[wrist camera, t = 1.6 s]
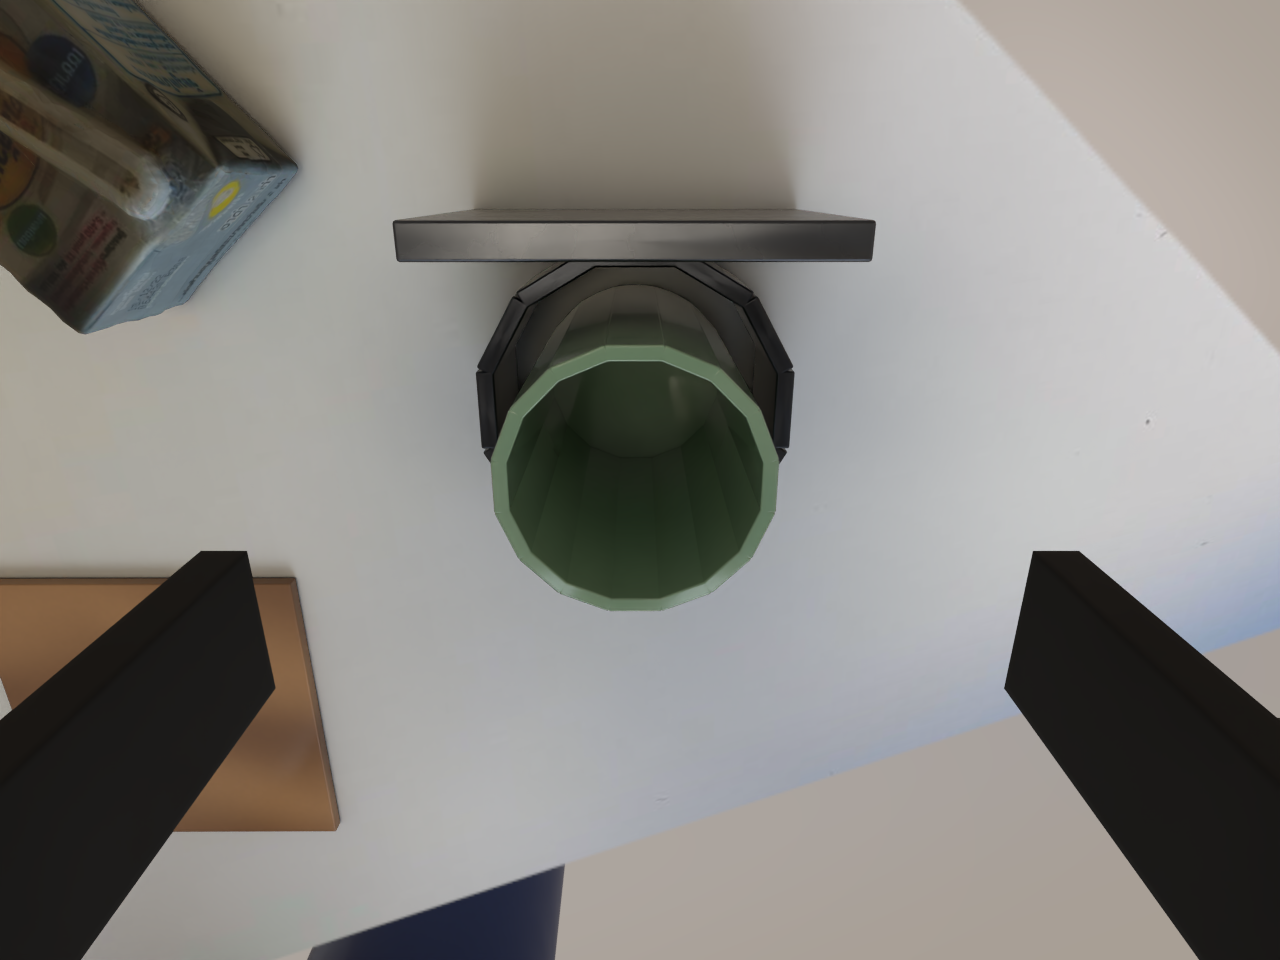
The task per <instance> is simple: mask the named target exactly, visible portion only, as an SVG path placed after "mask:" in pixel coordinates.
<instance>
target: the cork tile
mask: <svg viewBox="0 0 1280 960" xmlns="http://www.w3.org/2000/svg"><path fill="white" fill-rule="evenodd" d="M167 579H168V578H109V579H0V678H1V680H2V683H3V686H4V689H5V691H6V694H7V697H8V700H9V703H10V705H11V708H12V710H13V709H14V708H15V707H17V706H18V705H19V704H20V703H21V702H22V701H24V700H25V699H26V698H27V697H28V696H30V695H31V694H32V693H33V692H34V691H36V690H37V689H38V688H39V687H40V686H41V685H43V684H44V683H45V682H46V681H47V680H49V679H50V678H51V677H52V676H53V675H55V674H56V673H57V672H58V671H59V670H60V669H62V668H63V667H64V666H65V665H66V664H68V663H69V662H70V661H71V660H72V659H74V658H75V657H76V656H77V655H78V654H79V653H81V652H82V651H83V650H84V649H85V648H87V647H88V646H89V645H90V644H91V643H92V642H94V641H95V640H96V639H97V638H98V637H100V636H101V635H102V634H103V633H104V632H106V631H107V630H108V629H109V628H110V627H111V626H113V625H114V624H115V623H116V622H117V621H119V620H120V619H121V618H122V617H123V616H125V615H126V614H127V613H128V612H129V611H130V610H132V609H133V608H134V607H135V606H136V605H138V604H139V603H140V602H141V601H142V600H144V599H145V598H146V597H147V596H148V595H149V594H151V593H152V592H153V591H154V590H155V589H157V588H158V587H159V586H160V585H161V584H162V583H164V582H165V581H166V580H167ZM253 583H254V587H255V592H256V597H257V602H258V606H259V611H260V616H261V620H262V625H263V630H264V635H265V639H266V644H267V649H268V654H269V658H270V663H271V668H272V673H273V677H274V682H275V687H276V689H275V690H274V691H273V693H272V694H271V696H270V697H269V698H268V700H267V701H266V703H265V704H264V705H263V707H262V708H261V710H260V711H259V712H258V714H257V715H256V716H255V718H254V719H253V721H252V722H251V723H250V725H249V726H248V728H247V729H246V730H245V732H244V733H243V735H242V736H241V737H240V739H239V740H238V742H237V743H236V744H235V746H234V747H233V749H232V750H231V751H230V753H229V754H228V755H227V757H226V758H225V760H224V761H223V762H222V764H221V765H220V767H219V768H218V769H217V771H216V772H215V774H214V775H213V776H212V778H211V779H210V781H209V782H208V783H207V785H206V786H205V787H204V789H203V790H202V792H201V793H200V794H199V796H198V797H197V799H196V800H195V801H194V803H193V804H192V806H191V807H190V808H189V810H188V811H187V813H186V814H185V815H184V817H183V818H182V820H181V821H180V822H179V824H178V825H177V826H176V828H175V829H174V831H173V832H211V831H336V830H337V828H338V826H339V824H340V819H339V814H338V808H337V803H336V797H335V792H334V787H333V781H332V776H331V770H330V765H329V759H328V754H327V748H326V743H325V738H324V732H323V727H322V721H321V716H320V710H319V705H318V699H317V694H316V689H315V683H314V678H313V672H312V667H311V661H310V656H309V650H308V645H307V639H306V634H305V629H304V623H303V618H302V612H301V607H300V601H299V596H298V590H297V585H296V580H295V578H253Z"/></svg>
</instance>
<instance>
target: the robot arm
mask: <svg viewBox="0 0 1280 960" xmlns="http://www.w3.org/2000/svg"><path fill="white" fill-rule="evenodd" d="M275 689H276V687H275V682H274V677H273V673H272V668H271V663H270V658H269V654H268V649H267V644H266V639H265V635H264V630H263V625H262V620H261V616H260V611H259V606H258V602H257V597H256V592H255V587H254V583H253V578H252V573H251V568H250V564H249V559H248V554H247V551H200V552H199V553H198V554H197V555H196V556H195V557H193V558H192V559H191V560H190V561H189V562H187V563H186V564H185V565H184V566H183V567H181V568H180V569H179V570H178V571H177V572H176V573H174V574H173V575H172V576H171V577H170V578H168V579H167V580H166V581H165V582H164V583H162V584H161V585H160V586H159V587H158V588H157V589H155V590H154V591H153V592H152V593H151V594H149V595H148V596H147V597H146V598H145V599H144V600H142V601H141V602H140V603H139V604H138V605H136V606H135V607H134V608H133V609H132V610H130V611H129V612H128V613H127V614H126V615H125V616H123V617H122V618H121V619H120V620H119V621H117V622H116V623H115V624H114V625H113V626H111V627H110V628H109V629H108V630H107V631H106V632H104V633H103V634H102V635H101V636H100V637H98V638H97V639H96V640H95V641H94V642H92V643H91V644H90V645H89V646H88V647H87V648H85V649H84V650H83V651H82V652H81V653H79V654H78V655H77V656H76V657H75V658H74V659H72V660H71V661H70V662H69V663H68V664H66V665H65V666H64V667H63V668H62V669H60V670H59V671H58V672H57V673H56V674H55V675H53V676H52V677H51V678H50V679H49V680H47V681H46V682H45V683H44V684H43V685H41V686H40V687H39V688H38V689H37V690H36V691H34V692H33V693H32V694H31V695H30V696H28V697H27V698H26V699H25V700H24V701H22V702H21V703H20V704H19V705H18V706H17V707H15V708H14V709H13V710H12V711H11V712H9V713H8V714H7V715H6V716H5V717H4V718H2V719H1V720H0V960H81V959H82V957H83V956H84V955H85V953H86V952H87V950H88V949H89V948H90V946H91V945H92V943H93V942H94V941H95V939H96V938H97V937H98V935H99V934H100V932H101V931H102V930H103V928H104V927H105V925H106V924H107V923H108V921H109V920H110V918H111V917H112V916H113V914H114V913H115V911H116V910H117V909H118V907H119V906H120V904H121V903H122V902H123V900H124V899H125V898H126V896H127V895H128V893H129V892H130V891H131V889H132V888H133V886H134V885H135V884H136V882H137V881H138V879H139V878H140V877H141V875H142V874H143V872H144V871H145V870H146V868H147V867H148V865H149V864H150V863H151V861H152V860H153V859H154V857H155V856H156V854H157V853H158V852H159V850H160V849H161V847H162V846H163V845H164V843H165V842H166V840H167V839H168V838H169V836H170V835H171V833H172V832H173V831H174V829H175V828H176V826H177V825H178V824H179V822H180V821H181V820H182V818H183V817H184V815H185V814H186V813H187V811H188V810H189V808H190V807H191V806H192V804H193V803H194V801H195V800H196V799H197V797H198V796H199V794H200V793H201V792H202V790H203V789H204V787H205V786H206V785H207V783H208V782H209V781H210V779H211V778H212V776H213V775H214V774H215V772H216V771H217V769H218V768H219V767H220V765H221V764H222V762H223V761H224V760H225V758H226V757H227V755H228V754H229V753H230V751H231V750H232V749H233V747H234V746H235V744H236V743H237V742H238V740H239V739H240V737H241V736H242V735H243V733H244V732H245V730H246V729H247V728H248V726H249V725H250V723H251V722H252V721H253V719H254V718H255V716H256V715H257V714H258V712H259V711H260V710H261V708H262V707H263V705H264V704H265V703H266V701H267V700H268V698H269V697H270V696H271V694H272V693H273V691H274V690H275ZM1004 689H1005V690H1006V691H1007V693H1008V694H1009V696H1010V697H1011V698H1012V700H1013V701H1014V703H1015V704H1016V705H1017V707H1018V708H1019V710H1020V711H1021V712H1022V714H1023V715H1024V716H1025V718H1026V719H1027V721H1028V722H1029V723H1030V725H1031V726H1032V728H1033V729H1034V730H1035V732H1036V733H1037V735H1038V736H1039V737H1040V739H1041V740H1042V742H1043V743H1044V744H1045V746H1046V747H1047V748H1048V750H1049V751H1050V753H1051V754H1052V755H1053V757H1054V758H1055V760H1056V761H1057V762H1058V764H1059V765H1060V767H1061V768H1062V769H1063V771H1064V772H1065V774H1066V775H1067V776H1068V778H1069V779H1070V780H1071V782H1072V783H1073V785H1074V786H1075V787H1076V789H1077V790H1078V792H1079V793H1080V794H1081V796H1082V797H1083V799H1084V800H1085V801H1086V803H1087V804H1088V806H1089V807H1090V808H1091V810H1092V811H1093V812H1094V814H1095V815H1096V817H1097V818H1098V819H1099V821H1100V822H1101V824H1102V825H1103V826H1104V828H1105V829H1106V831H1107V832H1108V833H1109V835H1110V836H1111V838H1112V839H1113V840H1114V842H1115V843H1116V845H1117V846H1118V847H1119V849H1120V850H1121V852H1122V853H1123V854H1124V856H1125V857H1126V859H1127V860H1128V861H1129V863H1130V864H1131V865H1132V867H1133V868H1134V870H1135V871H1136V872H1137V874H1138V875H1139V877H1140V878H1141V879H1142V881H1143V882H1144V884H1145V885H1146V886H1147V888H1148V889H1149V890H1150V892H1151V893H1152V895H1153V896H1154V897H1155V899H1156V900H1157V902H1158V903H1159V904H1160V906H1161V907H1162V909H1163V910H1164V911H1165V913H1166V914H1167V916H1168V917H1169V918H1170V920H1171V921H1172V923H1173V924H1174V925H1175V927H1176V928H1177V929H1178V931H1179V932H1180V934H1181V935H1182V937H1183V938H1184V939H1185V941H1186V942H1187V943H1188V945H1189V946H1190V948H1191V949H1192V950H1193V952H1194V953H1195V955H1196V956H1197V957H1198V959H1199V960H1280V718H1276V717H1275V716H1274V715H1273V714H1272V713H1271V712H1269V711H1268V710H1267V709H1266V708H1265V707H1263V706H1262V705H1261V704H1260V703H1259V702H1258V701H1256V700H1255V699H1254V698H1253V697H1252V696H1250V695H1249V694H1248V693H1247V692H1246V691H1244V690H1243V689H1242V688H1241V687H1240V686H1238V685H1237V684H1236V683H1235V682H1234V681H1233V680H1231V679H1230V678H1229V677H1228V676H1227V675H1225V674H1224V673H1223V672H1222V671H1221V670H1220V669H1218V668H1217V667H1216V666H1215V665H1214V664H1212V663H1211V662H1210V661H1209V660H1208V659H1206V658H1205V657H1204V656H1203V655H1202V654H1201V653H1199V652H1198V651H1197V650H1196V649H1195V648H1193V647H1192V646H1191V645H1190V644H1189V643H1188V642H1186V641H1185V640H1184V639H1183V638H1182V637H1180V636H1179V635H1178V634H1177V633H1176V632H1174V631H1173V630H1172V629H1171V628H1170V627H1169V626H1167V625H1166V624H1165V623H1164V622H1163V621H1161V620H1160V619H1159V618H1158V617H1157V616H1155V615H1154V614H1153V613H1152V612H1151V611H1150V610H1148V609H1147V608H1146V607H1145V606H1144V605H1142V604H1141V603H1140V602H1139V601H1138V600H1136V599H1135V598H1134V597H1133V596H1132V595H1131V594H1129V593H1128V592H1127V591H1126V590H1125V589H1123V588H1122V587H1121V586H1120V585H1119V584H1118V583H1116V582H1115V581H1114V580H1113V579H1112V578H1110V577H1109V576H1108V575H1107V574H1106V573H1104V572H1103V571H1102V570H1101V569H1100V568H1099V567H1097V566H1096V565H1095V564H1094V563H1093V562H1091V561H1090V560H1089V559H1088V558H1087V557H1085V556H1084V555H1083V554H1082V553H1081V552H1080V551H1033V554H1032V559H1031V564H1030V568H1029V573H1028V578H1027V583H1026V587H1025V592H1024V597H1023V601H1022V606H1021V611H1020V616H1019V620H1018V625H1017V630H1016V635H1015V639H1014V644H1013V649H1012V654H1011V658H1010V663H1009V668H1008V673H1007V677H1006V682H1005V687H1004Z"/></svg>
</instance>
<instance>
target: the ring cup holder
mask: <svg viewBox="0 0 1280 960" xmlns="http://www.w3.org/2000/svg"><path fill="white" fill-rule="evenodd" d="M875 228H876V222H875V221H874V220H869V219H862V218H854V217H847V216H840V215H833V214H826V213H819V212H812V211H804V210H797V209H473V210H466V211H459V212H452V213H444V214H437V215H430V216H422V217H415V218H408V219H401V220H395V221H393V232H394V241H395V250H396V259H397V261H399V262H557V263H555V264H554V265H552V266H550V267H549V268H547V269H545V270H544V271H542V272H540V273H539V274H537V275H536V276H535V277H533V278H532V279H531V280H530V281H529V282H528V283H527V284H525V285H524V286H523V287H522V288H521V289H520V290H519V291H518V292H517V294H516V295H514V296H513V297H512V299H511V301H510V303H509V305H508V307H507V308H506V310H505V312H504V314H503V316H502V318H501V320H500V322H499V324H498V326H497V328H496V330H495V332H494V334H493V336H492V338H491V340H490V342H489V344H488V346H487V348H486V350H485V352H484V354H483V356H482V358H481V360H480V362H479V364H478V366H477V367H478V369H479V370H478V371H477V372H476V380H477V393H478V406H479V419H480V431H481V444H482V448H486V449H485V451H484V454H485V456H486V457H487V459H488V460H489V462H490V463H491V457H492V455H493V452H494V449H495V446H496V444H497V441H498V438H499V435H500V433H501V430H502V427H503V424H504V422H505V419H506V416H507V413H508V411H509V409H510V407H511V405H512V404H513V402H514V400H515V398H516V397H517V395H518V377H517V360H516V344H517V342H518V340H519V338H520V336H521V335H522V333H523V331H524V329H525V327H526V325H527V323H528V321H529V319H530V317H531V315H532V313H533V311H534V310H535V308H536V306H537V304H538V302H539V301H540V300H542V299H543V298H545V297H547V296H548V295H550V294H552V293H553V292H555V291H557V290H558V289H560V288H562V287H563V286H565V285H567V284H568V283H570V282H572V281H573V280H575V279H577V278H578V277H580V276H582V275H583V274H585V273H586V272H588V271H590V270H591V269H593V268H595V267H675V268H677V269H679V270H680V271H682V272H684V273H685V274H687V275H689V276H690V277H692V278H694V279H695V280H697V281H699V282H700V283H702V284H704V285H705V286H707V287H709V288H710V289H712V290H714V291H715V292H717V293H719V294H720V295H722V296H724V297H725V298H727V299H729V300H730V301H732V302H733V304H734V306H735V308H736V310H737V312H738V314H739V315H740V317H741V319H742V321H743V323H744V325H745V327H746V329H747V331H748V333H749V335H750V336H751V338H752V340H753V342H754V344H755V359H754V377H753V397H754V399H755V401H756V402H757V404H758V406H759V408H760V410H761V412H762V415H763V417H764V420H765V423H766V425H767V428H768V431H769V433H770V436H771V439H772V442H773V444H774V447H775V450H776V452H777V455H778V458H779V459H778V460H779V464H780V462H781V461H782V459H783V458H784V456H785V455H786V453H787V451H786V450H785V448H789V441H790V427H791V414H792V400H793V387H794V371H793V370H792V368H793V365H792V363H791V361H790V359H789V357H788V355H787V353H786V351H785V349H784V347H783V345H782V343H781V341H780V339H779V337H778V335H777V333H776V331H775V329H774V327H773V325H772V324H771V322H770V320H769V318H768V316H767V314H766V312H765V310H764V308H763V306H762V304H761V302H760V300H759V298H758V297H757V296H756V295H755V294H754V293H753V291H752V290H751V289H749V288H748V287H747V286H746V285H745V284H744V283H743V282H742V281H741V280H739V279H738V278H737V277H736V276H735V275H734V274H732V273H730V272H729V271H727V270H725V269H724V268H722V267H721V266H719V265H717V264H716V263H714V262H870V261H871V260H872V256H873V247H874V237H875Z"/></svg>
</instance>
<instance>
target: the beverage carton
mask: <svg viewBox="0 0 1280 960" xmlns="http://www.w3.org/2000/svg"><path fill="white" fill-rule="evenodd" d="M297 170H298V167H297V165H296V163H295V162H294V161H293V160H291V159H290V158H289V157H288V156H287V155H286V154H285V153H284V152H283V151H282V150H281V149H280V148H279V147H278V146H277V144H276V143H275V142H274V141H273V140H272V139H271V138H270V137H269V136H268V135H267V134H266V133H265V132H264V131H263V130H262V129H261V128H260V127H259V126H258V125H257V124H256V123H254V122H253V121H252V120H251V119H250V118H249V117H248V116H247V115H246V114H245V113H244V112H243V111H242V110H241V109H240V108H239V107H238V106H237V105H236V104H235V103H234V102H233V101H232V100H231V99H230V98H229V97H228V96H227V95H226V94H225V93H224V92H223V91H222V90H221V89H220V88H219V87H218V86H217V85H216V84H215V83H214V82H213V81H212V80H211V79H210V78H209V77H208V76H207V75H206V74H205V73H204V72H203V71H202V70H201V69H200V68H199V67H198V66H197V65H196V64H195V63H194V62H193V61H192V59H191V58H190V57H189V56H188V55H187V54H186V53H185V52H184V51H183V50H182V49H181V48H180V47H179V46H178V45H177V44H176V43H175V42H174V41H173V40H172V39H171V38H170V37H169V36H168V35H167V34H166V33H165V32H164V31H163V30H162V29H161V28H160V27H159V26H158V25H157V24H156V23H155V22H154V21H153V20H152V19H151V18H150V17H149V16H148V15H147V14H146V13H145V12H144V11H143V10H142V9H141V8H140V7H139V6H138V5H137V4H136V3H135V2H134V1H133V0H0V265H1V266H3V267H4V268H5V269H7V270H8V271H9V272H10V273H11V274H12V275H13V276H14V277H15V278H16V279H17V280H18V281H19V283H20V284H21V285H22V286H23V287H24V288H25V289H26V290H27V291H28V292H30V293H31V294H32V295H34V296H35V297H37V298H38V299H39V300H41V301H42V302H43V303H44V304H46V305H47V306H48V307H50V308H51V309H52V310H53V311H54V312H55V314H56V315H57V316H58V317H59V318H60V319H61V320H62V321H63V322H64V323H66V324H67V325H69V326H70V327H71V328H73V329H74V330H75V331H77V332H78V333H81V334H88V333H91V332H95V331H98V330H102V329H105V328H108V327H111V326H113V325H116V324H120V323H123V322H127V321H136V320H140V319H143V318H146V317H149V316H155V315H158V314H161V313H162V312H163V311H164V310H166V309H169V308H171V307H174V306H177V305H182V304H184V303H185V302H186V301H187V300H188V299H189V298H190V297H191V295H192V294H193V292H194V291H195V289H196V288H197V287H198V285H199V284H200V283H201V282H202V281H203V280H204V278H205V277H206V276H207V274H208V273H209V272H210V271H211V269H212V268H213V267H214V266H215V264H216V263H217V262H218V261H219V260H220V259H221V257H222V256H223V255H224V254H225V253H226V252H227V251H228V249H229V248H230V247H231V246H232V245H233V244H234V243H235V242H236V241H237V240H238V238H239V237H240V236H241V235H242V234H243V233H244V232H245V230H246V229H247V228H248V227H249V226H250V225H251V224H252V223H253V221H254V220H255V219H256V218H257V217H258V216H259V215H260V214H261V213H262V212H263V210H264V209H265V208H266V207H267V205H268V204H269V203H270V202H271V201H272V200H273V199H274V198H275V197H276V196H277V195H278V194H279V193H280V192H281V191H282V190H283V189H284V187H285V186H286V185H287V184H288V182H289V181H290V180H291V178H292V177H293V176H294V175H295V173H296V172H297Z"/></svg>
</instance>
